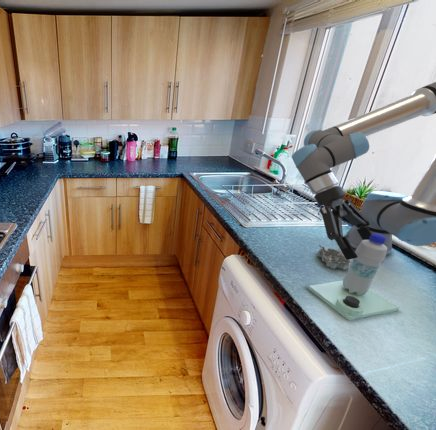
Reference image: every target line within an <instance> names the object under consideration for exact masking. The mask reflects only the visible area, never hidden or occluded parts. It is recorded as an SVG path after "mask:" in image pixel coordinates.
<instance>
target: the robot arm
mask: <svg viewBox="0 0 436 430" xmlns="http://www.w3.org/2000/svg"><path fill="white" fill-rule="evenodd" d="M435 114H436V81H434V82H432V83H429V84H426V85H424V86H422V87H419V88H417V89H416V90H414V91H413V92H412V94H411V95H408V96H405V97H403V98H401V99H398V100H396V101H392V102H391V103H388V104H386V105H383V106H380V107H378V108H375V109H374V110H371V111H367V112H366V113H363V114H361V115H358V116H356V117H354V118H351V119H349V120H346V121H344V122H342V123H339V124H336V125H333V126H331V127H328V128H326V129H314V130H312V131H309V132H308V133H307V134H305V136H304V139H303V146H302V147H301V148H299V149H297V150H295V151H294V152H293V153H292V155H291V159H292V162H293V164H294V165H295V168H296V169H297V170H298V172H299V174H300V175H301V177H302V179H303V180H304V182H305V183H306V186H307V189H308V190H309V191H310V193H311V195H314V196H313V197H314V200H315V201H316V203H317V205H318V206H320V208H319V212H320V215H321V217H322V221H323V225H324V228H325V232H326V236H327V238H328V240H330V241H333V240H334V241H335V242H336V244H337V246H338V248H339V250H341V251H342V253H343V255H344V256H345V258H346V260H353V259H354V258H357V257H358V256H357V255H356V253H355V252H356V249H357V247H358V246H359V244H360V243H361V241H362V240H369V238H370V236H371V235H372V234H381V235H383V236H384V237H385V238H386V240H385V242H384V245H385V246H386V247H387V252H386V256H387V255H390V253H391V251H392V249H393V236H394V237H396V238H397V239H398V240H400V241H401V242H403V243H406V244H408V245H410V246H414V247H427V246H430V245H432V244H435V243H436V155H434V157H433V159H432V161H431V162H430V164H429V165H428V166H427V169H426V171H425V172H424V174H423V176H422V177H421V179H420V180H419V181H418V183H417V185H416V187H415V188H414V189H413V192H412V194H411V195H409V196H408V195H406V194H404V193H397V192H391V191H382V190H373V191H370V192H368V194H367V195H366V197H365V198H364V201H363V203H362V206H361V208H360V210H359V209H358V208H357V207H356V206H355V205H354V204H353V203H352V201H351V200H350V198H346V199H344V200H343V198H344V197H346V193H345V191H344V189H343V188H342V186H341V185H339V183H340V182H339V181H338V179H337V178H336V176H335V175H334V173H333V171H332V170H331V169H332V168H334V167H336V166H337V167H338V166H340V165H342V164H344V163H347V162H349V161H353V160H355V159H357V158H359V157H361V156H363V155H366V154H367V153H368V152H369V151H370V142H369V140H368V137H369V136H372V135H374V134H377V133H379V132H381V131H384V130H386V129H389V128H392V127H394V126H397V125H400V124H402V123H405V122H408V121H411V120H413V119H416V118H418V117H430V116H432V115H435ZM322 206H323V207H322ZM343 218H344V219H345V220H346V221H348V222H349V223H350V224H351V225H352V226H351V228H349V230H347V232H346V233H345V234H344V232H343V223H342V219H343Z"/></svg>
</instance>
